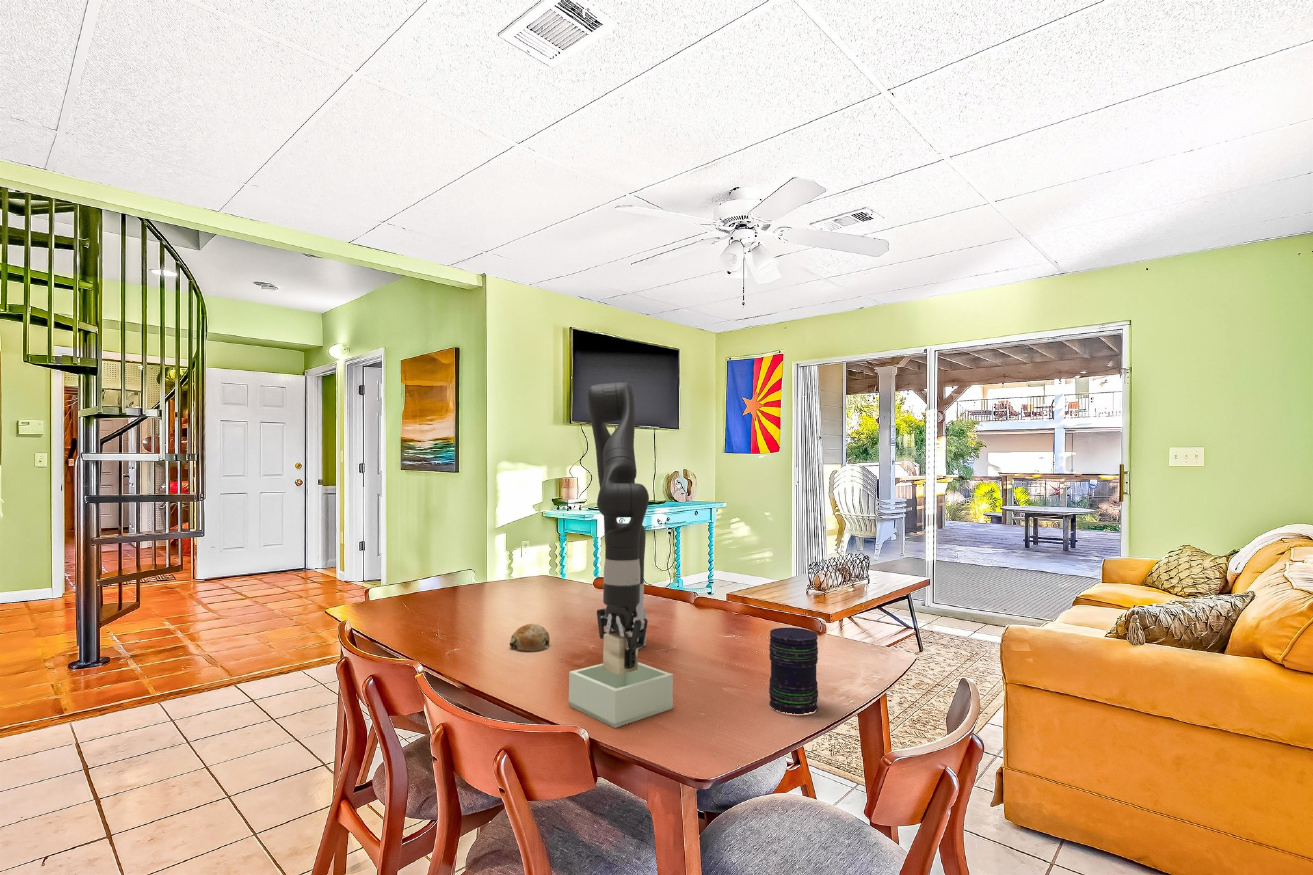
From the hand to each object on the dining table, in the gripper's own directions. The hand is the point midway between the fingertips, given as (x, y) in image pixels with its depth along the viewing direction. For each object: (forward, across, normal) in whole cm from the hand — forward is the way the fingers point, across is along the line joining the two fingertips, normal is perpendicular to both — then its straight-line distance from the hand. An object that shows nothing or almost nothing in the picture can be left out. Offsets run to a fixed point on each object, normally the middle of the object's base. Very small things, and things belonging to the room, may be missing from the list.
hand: (620, 664), depth 132 cm
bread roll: (+9, +50, -9) cm, 51 cm away
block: (+1, 0, 0) cm, 1 cm away
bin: (+9, 0, 0) cm, 9 cm away
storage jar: (+9, -23, -27) cm, 37 cm away
